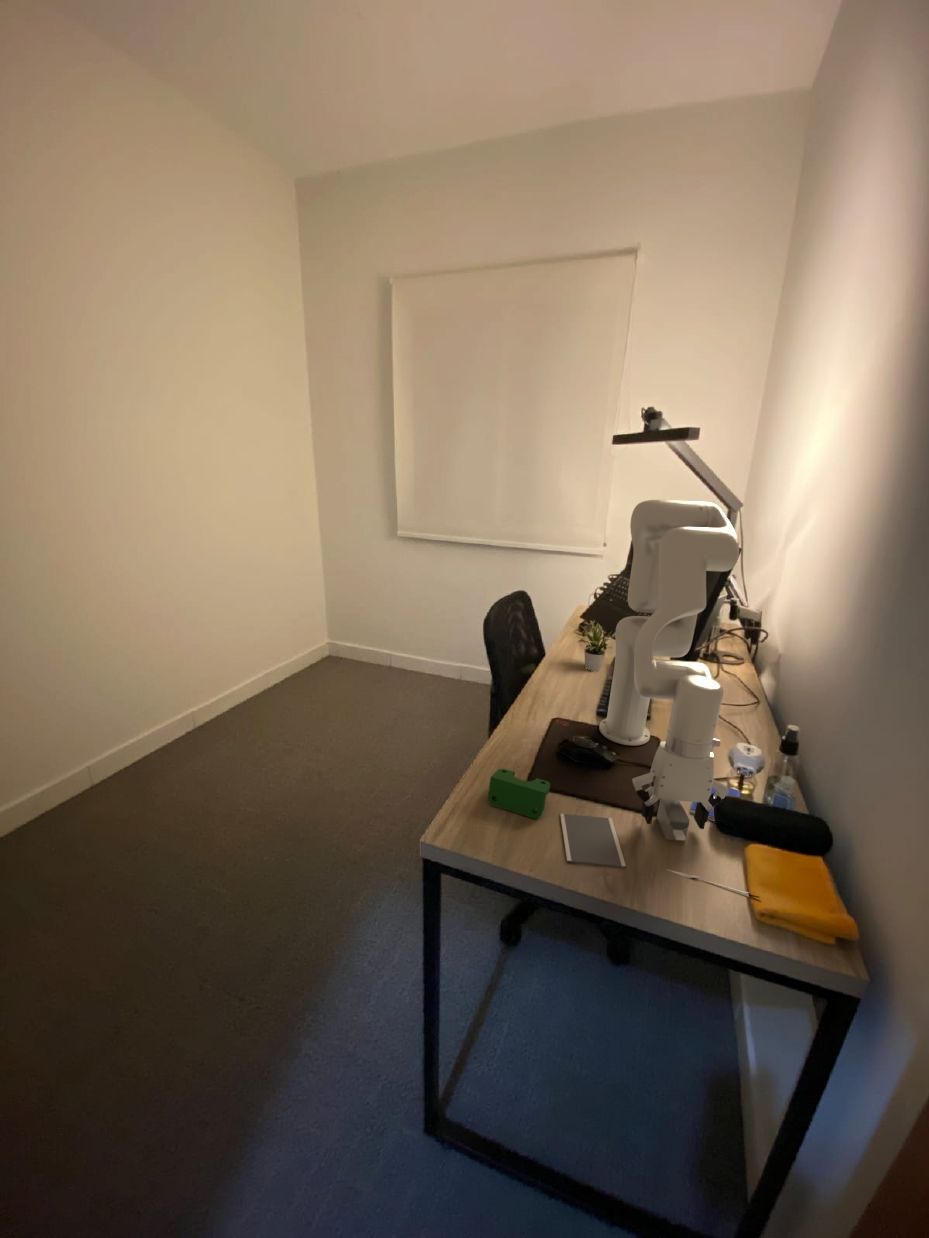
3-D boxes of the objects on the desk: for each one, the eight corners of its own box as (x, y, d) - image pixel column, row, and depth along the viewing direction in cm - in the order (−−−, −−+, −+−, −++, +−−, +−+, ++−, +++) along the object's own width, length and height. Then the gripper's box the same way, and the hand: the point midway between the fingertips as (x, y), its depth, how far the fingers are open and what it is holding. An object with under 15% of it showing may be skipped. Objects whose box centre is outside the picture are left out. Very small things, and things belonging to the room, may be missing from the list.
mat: (559, 815, 97) (560, 813, 97) (611, 819, 96) (611, 818, 96) (567, 862, 85) (567, 860, 85) (625, 868, 85) (625, 865, 85)
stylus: (640, 849, 88) (761, 886, 81) (639, 854, 88) (759, 891, 82) (638, 866, 84) (764, 906, 78) (638, 870, 85) (763, 911, 78)
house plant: (563, 659, 174) (567, 615, 169) (599, 658, 177) (605, 615, 172) (579, 676, 161) (584, 629, 156) (618, 674, 163) (625, 628, 158)
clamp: (535, 821, 101) (559, 787, 99) (528, 834, 96) (552, 798, 94) (488, 784, 105) (510, 751, 103) (479, 794, 99) (501, 759, 97)
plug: (656, 817, 97) (661, 792, 96) (674, 819, 97) (680, 793, 95) (669, 846, 90) (674, 820, 88) (688, 848, 90) (694, 821, 88)
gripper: (729, 735, 91) (711, 812, 97) (634, 728, 93) (622, 804, 98) (747, 758, 84) (727, 840, 89) (645, 750, 85) (631, 831, 91)
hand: (672, 821), depth 94 cm, fingers open, 9 cm apart
